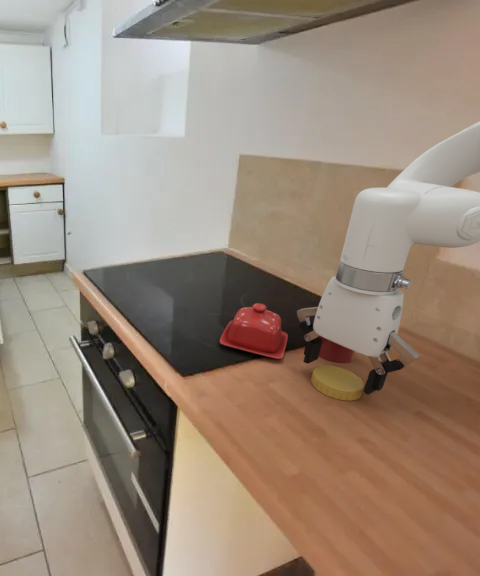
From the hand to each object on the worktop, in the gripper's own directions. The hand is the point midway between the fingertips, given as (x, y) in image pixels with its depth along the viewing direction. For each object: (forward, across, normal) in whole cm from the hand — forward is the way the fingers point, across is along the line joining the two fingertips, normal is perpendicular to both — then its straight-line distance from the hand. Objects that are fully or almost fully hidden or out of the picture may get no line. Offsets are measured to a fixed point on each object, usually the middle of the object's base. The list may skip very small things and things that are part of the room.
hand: (338, 375), depth 61 cm
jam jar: (+2, +6, -10) cm, 12 cm away
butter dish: (+2, +16, 0) cm, 16 cm away
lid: (+1, 0, 0) cm, 1 cm away
